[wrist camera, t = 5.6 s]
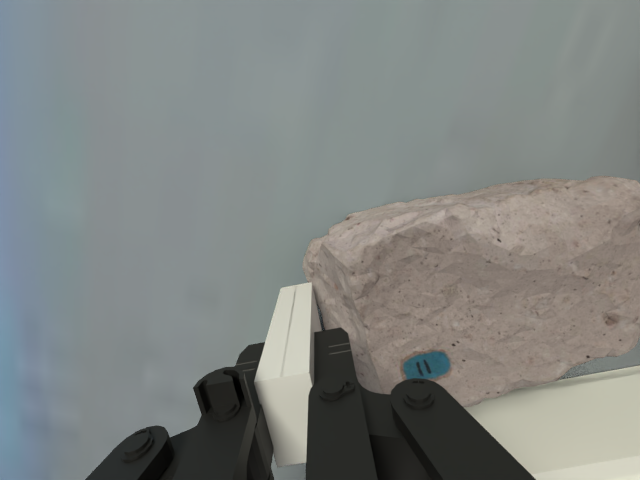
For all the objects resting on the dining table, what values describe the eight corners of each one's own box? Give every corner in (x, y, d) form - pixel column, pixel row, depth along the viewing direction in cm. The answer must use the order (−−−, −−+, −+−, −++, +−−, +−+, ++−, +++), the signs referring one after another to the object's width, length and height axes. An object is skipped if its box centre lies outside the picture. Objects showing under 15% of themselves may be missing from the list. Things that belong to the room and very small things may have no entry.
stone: (350, 380, 19) (369, 476, 13) (296, 228, 16) (290, 261, 11) (572, 310, 18) (697, 377, 12) (545, 145, 16) (680, 132, 10)
